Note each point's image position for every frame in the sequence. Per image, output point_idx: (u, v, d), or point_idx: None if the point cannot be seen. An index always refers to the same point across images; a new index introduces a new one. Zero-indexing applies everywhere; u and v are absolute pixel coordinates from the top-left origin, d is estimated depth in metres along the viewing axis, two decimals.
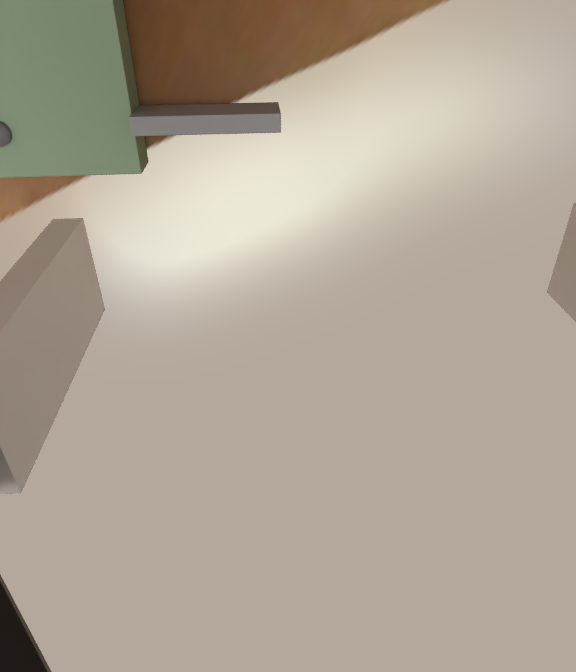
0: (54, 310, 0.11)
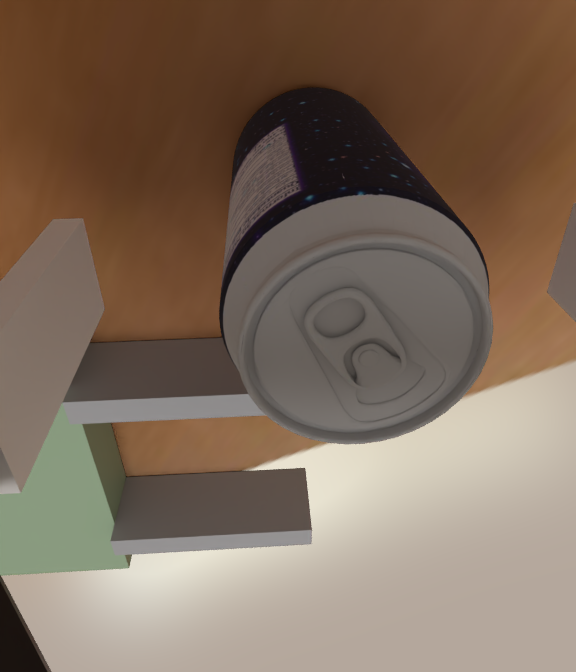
0: (54, 310, 0.11)
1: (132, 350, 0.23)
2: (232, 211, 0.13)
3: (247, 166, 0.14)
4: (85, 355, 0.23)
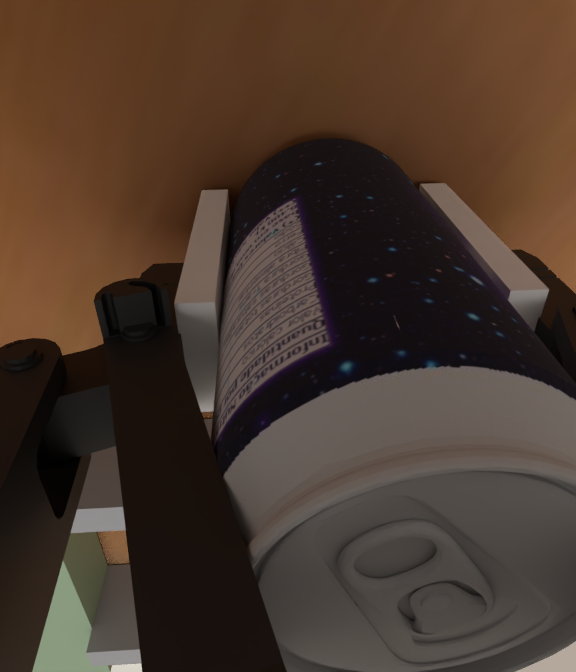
0: (225, 264, 0.13)
1: None
2: (226, 327, 0.09)
3: (247, 258, 0.10)
4: None
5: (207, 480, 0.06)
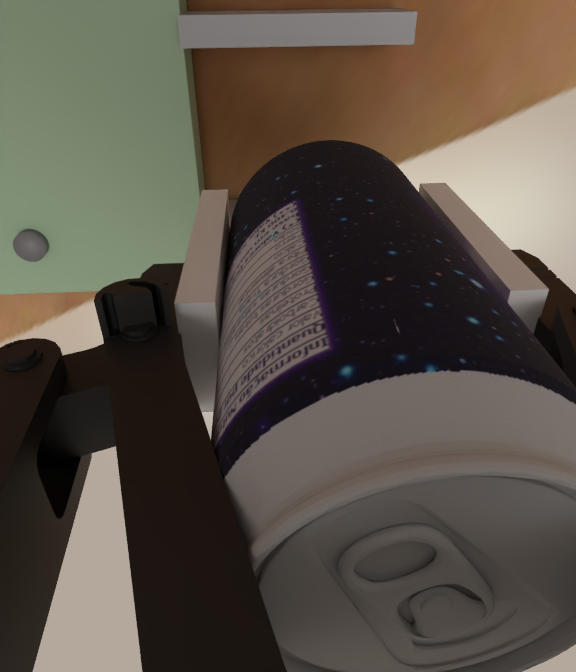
0: (226, 264, 0.13)
1: (231, 11, 0.24)
2: (226, 329, 0.09)
3: (247, 260, 0.10)
4: (187, 12, 0.24)
5: (207, 480, 0.06)
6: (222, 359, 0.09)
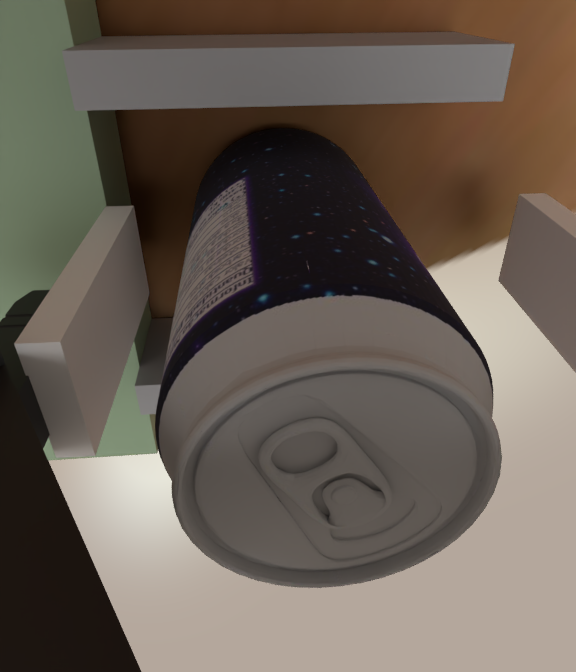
0: (115, 290, 0.12)
1: (176, 37, 0.14)
2: (180, 287, 0.11)
3: (201, 229, 0.12)
4: (98, 38, 0.14)
5: (58, 531, 0.06)
6: (175, 310, 0.10)
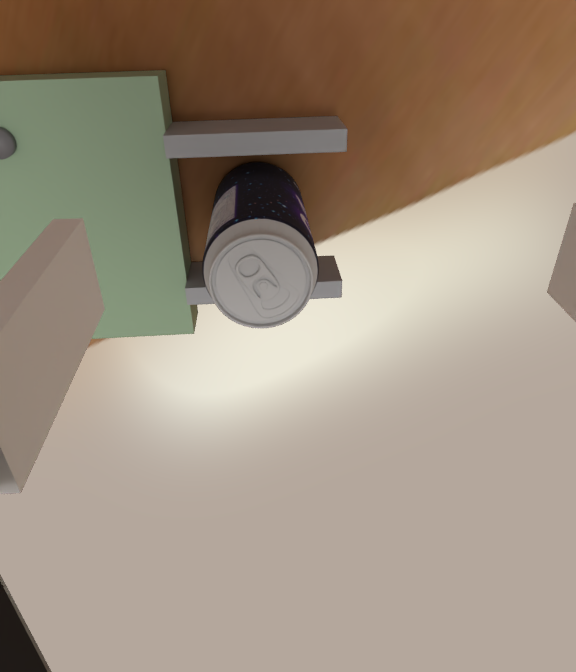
0: (54, 310, 0.11)
1: (206, 122, 0.31)
2: (209, 227, 0.28)
3: (217, 206, 0.28)
4: (172, 124, 0.31)
5: None
6: (208, 234, 0.27)
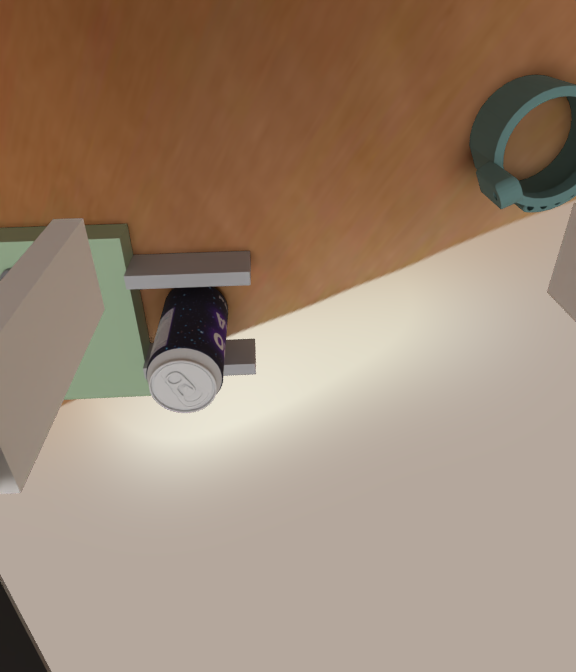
0: (54, 310, 0.11)
1: (156, 257, 0.44)
2: (154, 340, 0.41)
3: (161, 323, 0.42)
4: (132, 259, 0.44)
5: None
6: None
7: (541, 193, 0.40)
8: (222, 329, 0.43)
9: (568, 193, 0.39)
